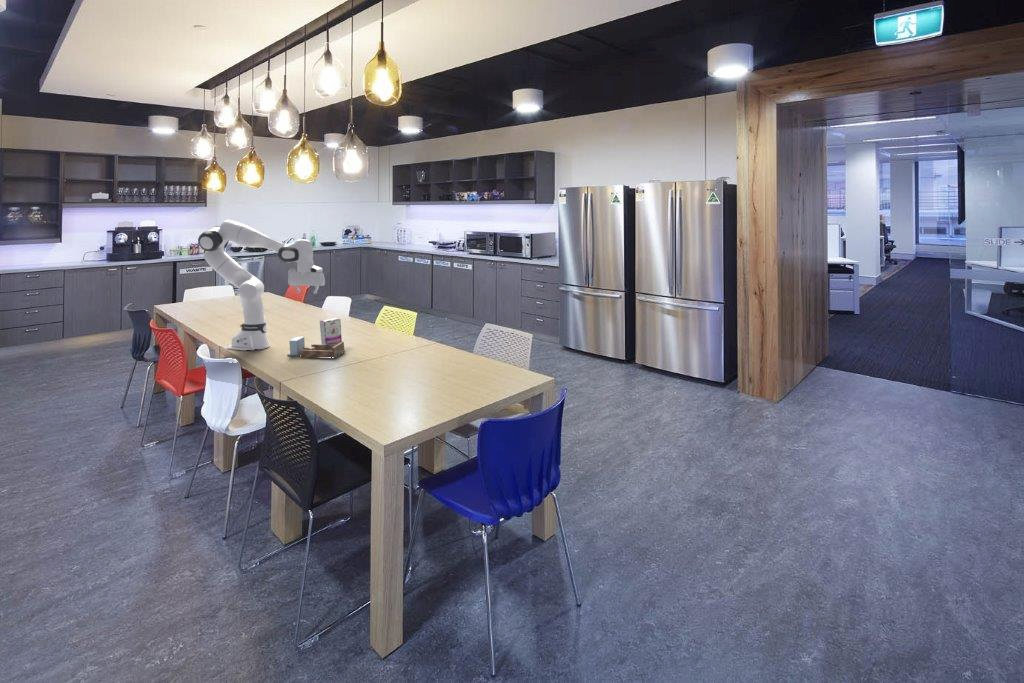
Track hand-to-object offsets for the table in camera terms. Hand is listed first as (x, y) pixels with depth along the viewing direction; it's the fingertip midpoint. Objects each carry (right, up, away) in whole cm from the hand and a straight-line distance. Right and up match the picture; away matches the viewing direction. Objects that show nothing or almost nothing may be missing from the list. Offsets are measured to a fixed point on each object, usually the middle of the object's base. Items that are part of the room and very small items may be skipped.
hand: (307, 293), depth 327 cm
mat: (-3, -34, -5) cm, 34 cm away
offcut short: (+4, -32, -6) cm, 33 cm away
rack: (+11, -34, -6) cm, 36 cm away
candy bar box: (+10, -30, +12) cm, 34 cm away
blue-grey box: (-3, -33, -5) cm, 34 cm away
